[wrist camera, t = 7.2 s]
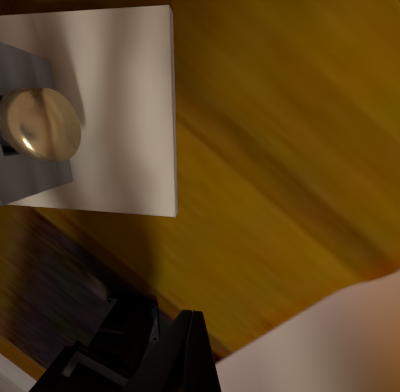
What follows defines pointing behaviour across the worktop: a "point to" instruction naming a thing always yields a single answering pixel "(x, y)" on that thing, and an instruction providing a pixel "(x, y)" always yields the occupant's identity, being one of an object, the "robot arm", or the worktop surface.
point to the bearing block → (97, 108)
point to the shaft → (39, 124)
